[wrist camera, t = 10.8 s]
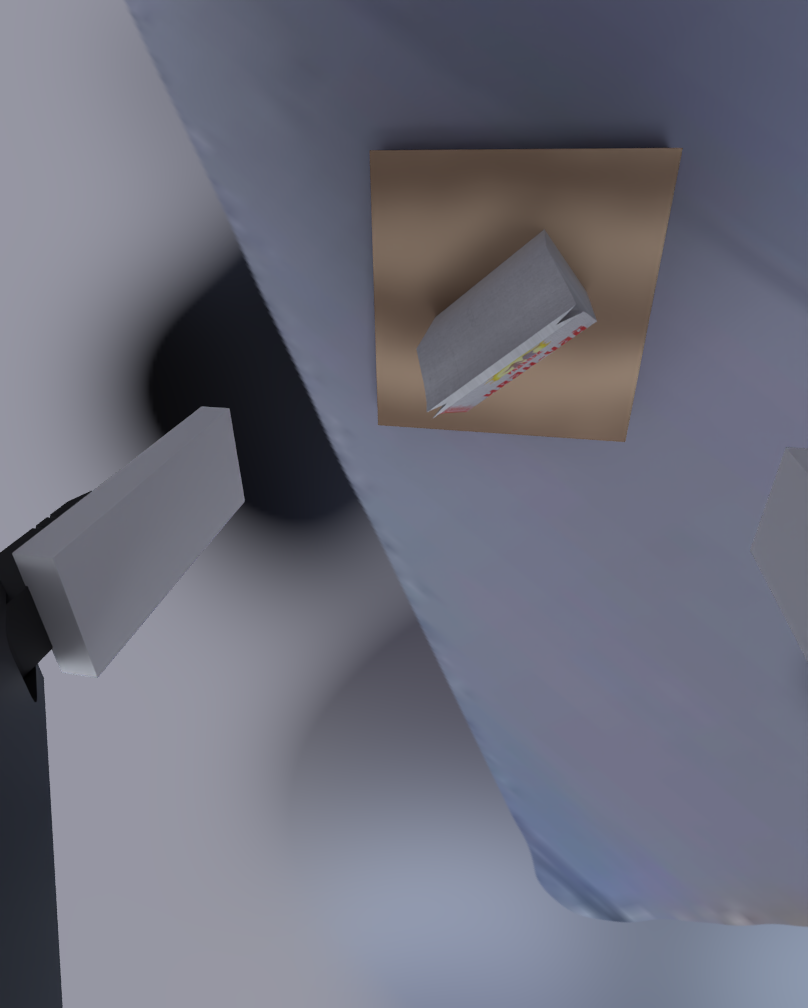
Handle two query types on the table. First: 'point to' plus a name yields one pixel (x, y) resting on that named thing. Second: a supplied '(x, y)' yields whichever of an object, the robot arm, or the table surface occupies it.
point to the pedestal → (492, 240)
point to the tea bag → (502, 327)
